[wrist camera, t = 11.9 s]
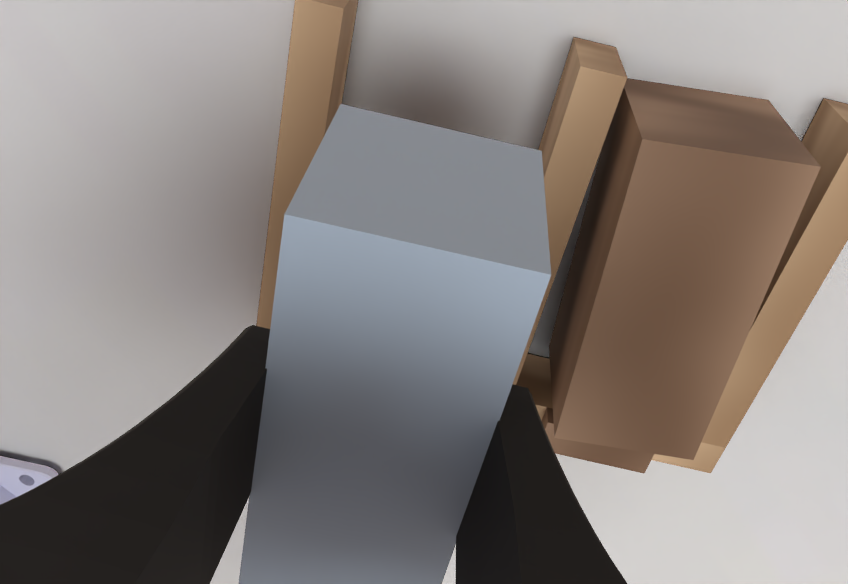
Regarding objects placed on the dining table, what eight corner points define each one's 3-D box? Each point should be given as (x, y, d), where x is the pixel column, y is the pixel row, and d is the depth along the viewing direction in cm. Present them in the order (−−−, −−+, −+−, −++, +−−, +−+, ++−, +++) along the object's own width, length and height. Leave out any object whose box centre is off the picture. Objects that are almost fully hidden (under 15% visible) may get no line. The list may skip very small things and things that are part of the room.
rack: (271, 323, 24) (245, 383, 21) (318, -26, 18) (289, 3, 16) (695, 419, 24) (715, 489, 22) (864, 108, 19) (915, 156, 16)
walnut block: (548, 342, 23) (554, 437, 20) (620, 74, 19) (642, 139, 16) (668, 361, 23) (693, 460, 20) (766, 97, 19) (820, 166, 16)
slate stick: (288, 438, 18) (237, 591, 15) (340, 103, 14) (284, 214, 10) (440, 471, 18) (424, 631, 15) (542, 150, 14) (551, 274, 10)
